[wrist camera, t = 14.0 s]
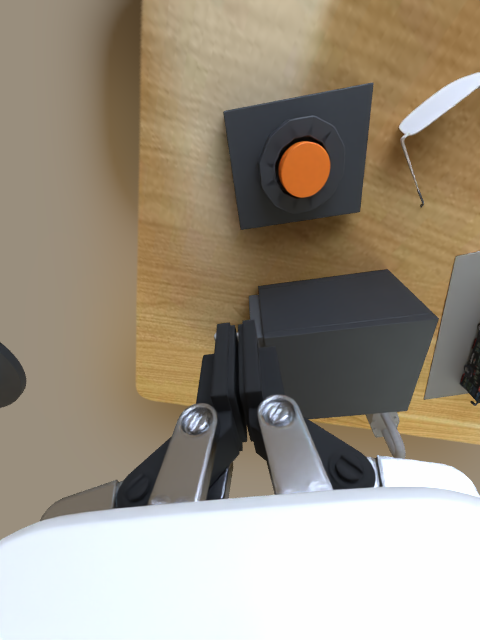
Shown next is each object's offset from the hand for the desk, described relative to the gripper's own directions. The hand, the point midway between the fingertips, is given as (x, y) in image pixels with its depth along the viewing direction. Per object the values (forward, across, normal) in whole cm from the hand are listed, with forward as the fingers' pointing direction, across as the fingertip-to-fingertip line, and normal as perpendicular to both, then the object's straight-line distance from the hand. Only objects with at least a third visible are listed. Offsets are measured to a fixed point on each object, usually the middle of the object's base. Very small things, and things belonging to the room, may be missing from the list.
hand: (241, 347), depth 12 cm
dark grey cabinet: (+18, -8, +13) cm, 24 cm away
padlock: (+19, -17, +29) cm, 39 cm away
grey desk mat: (+18, -31, +19) cm, 41 cm away
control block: (+18, -6, -5) cm, 20 cm away
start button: (+15, -6, -5) cm, 17 cm away
